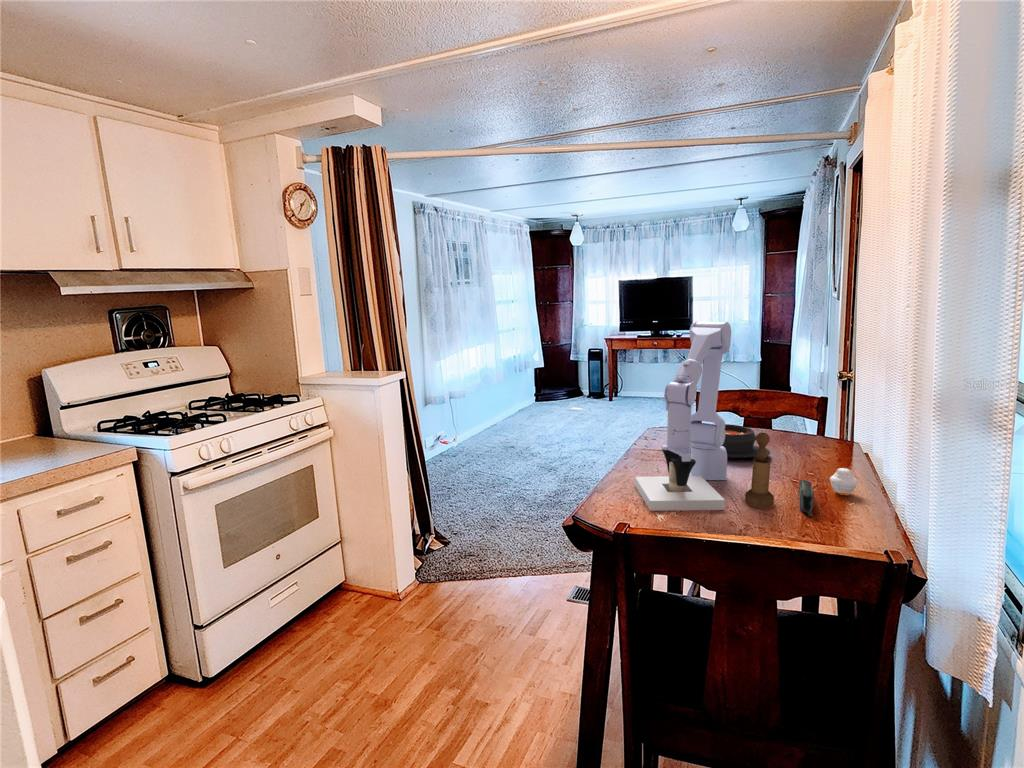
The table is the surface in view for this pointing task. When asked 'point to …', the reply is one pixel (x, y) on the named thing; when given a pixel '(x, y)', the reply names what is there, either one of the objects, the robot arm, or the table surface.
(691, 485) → the socket
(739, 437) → the casserole
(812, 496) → the dark grey oblong block
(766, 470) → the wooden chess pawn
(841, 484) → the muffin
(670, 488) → the peg
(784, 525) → the table surface
